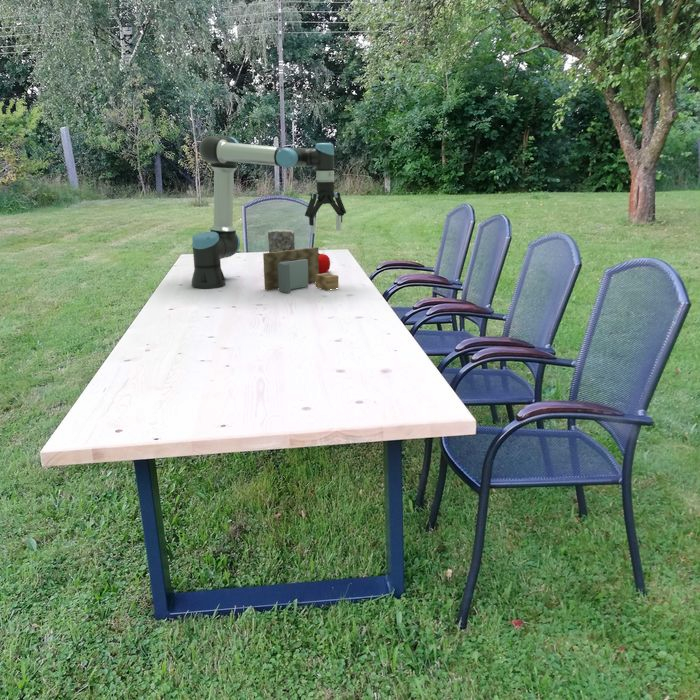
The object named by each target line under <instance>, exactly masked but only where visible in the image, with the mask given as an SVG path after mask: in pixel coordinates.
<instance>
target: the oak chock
mask: <svg viewBox="0 0 700 700" xmlns="http://www.w3.org/2000/svg"><path fill="white" fill-rule="evenodd" d="M315 279H316V283H315V288H316V287H317V288H316V289H319V288H321V289H320V290H323V289H325V290H324V291H326V290H330V289H336V288H339V285H340V284H339V275H336V274H334V273H333V274H332V273H328V272H326V273H322V274H315ZM336 290H337V289H336ZM330 291H331V290H330Z"/></svg>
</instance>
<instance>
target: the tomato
mask: <svg viewBox="0 0 700 700" xmlns="http://www.w3.org/2000/svg"><path fill="white" fill-rule="evenodd" d="M330 267H331V259H330V257H329V256H328V255H327V254H325V253H324V252H322V253H319V274H322V273H328V271H330Z"/></svg>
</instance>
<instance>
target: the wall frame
mask: <svg viewBox="0 0 700 700" xmlns="http://www.w3.org/2000/svg"><path fill="white" fill-rule="evenodd" d="M262 254H263V255H262V256H263V277H264V278H263V279H264V290H265V291H271V290H272V291H273V290H277V289H278V288H279V281H278V261H286V260H294V261H296V260H304V259H307V260H308V285H309V283H310V284H316V283H315V282H316V279H315V274H319V254H320V253H319V247H315V246H314V247H307V248H306V247H305V248H297V249H295V250H287V251H279V252H270V253H269V252H263V253H262ZM278 290H279V289H278Z"/></svg>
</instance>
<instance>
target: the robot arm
mask: <svg viewBox="0 0 700 700" xmlns="http://www.w3.org/2000/svg"><path fill="white" fill-rule="evenodd" d="M334 147H335V146H334V144H333V143H332V142H317V143H316V144H315V147H310V148H309V147H283V146H272V145H260V144H249V143H248V144H247V143H240V142H239V141H238V140H237V139H236V138H235V137H233V136H228V135H207V136H206V137H204V138H203V139H202V140H201V141H200V143H199V147H198V150H199V154H200V157H201V158H202V160H204V162H206V163H208V164H210V168H211V169H212V170H213V225H212V226H211V227H210V228H209V230H210V231H204V232H199V233H196V234H194V235H193V236H192V240H191V241H192V243H191V245H192V255H193V256H192V257H193V265H194V266H193V267H194V269H193V273H192V278H191V287H192V286H193V287H192V288H195V287H196V289H217V288H222V287H225V286H226V285H227V281H226V280H227V279H226V278H225V275H224V271H223V270H222V267H221V260H222V259H226V258H230V257H232V256H234V255H235V254H237V252H238V251H239V249H240V247H241V240H240V236H238V234H237V229H236V228H235V227H234V225H233V224H234V223H233V217H234V215H233V213H234V172H236V170H237V169H238V163H243V164H244V163H245V164H254V165H265V166H274V167H275V166H276V167H281V168H285V169H286V168H287V169H288V168H303V167H314V168H315V169H316V172H315V173H316V175H315V176H316V178H315V180H316V191H317V192H316V193H311V194H310V200H309V203H308V205H307V208H306V211H305V213H304V216H305V217H307V218H308V219H309V220H308V221H309V223H308V224H309V226H310V233H311V234H314V235H315V234H317V223H316V222H317V219H316V217H315V216H316V215H317V213H318V211H319V209H320V208H321V206H323V205H328V204H329V205H330V206H331V207H332V209H333V210H334V212H335V213H336V215H335V230H336V231H337V232H339V231H340V232H342V223H343V216H345V214H347V211H346V208H345V205H344V203H343V201H342V198H341V192H337V191H336V192H335V182H334V180H335V150H334Z"/></svg>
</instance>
